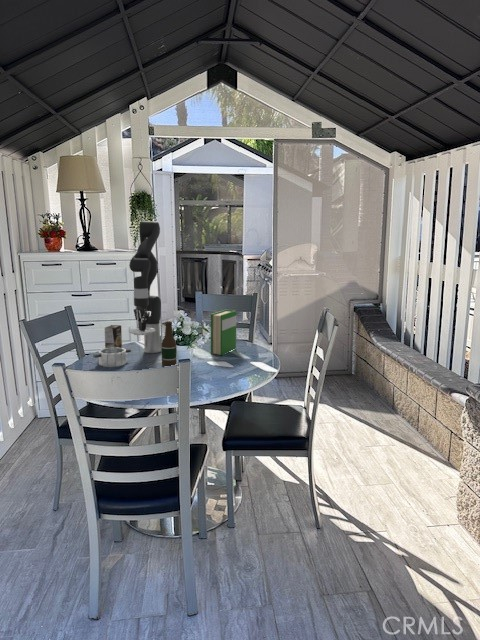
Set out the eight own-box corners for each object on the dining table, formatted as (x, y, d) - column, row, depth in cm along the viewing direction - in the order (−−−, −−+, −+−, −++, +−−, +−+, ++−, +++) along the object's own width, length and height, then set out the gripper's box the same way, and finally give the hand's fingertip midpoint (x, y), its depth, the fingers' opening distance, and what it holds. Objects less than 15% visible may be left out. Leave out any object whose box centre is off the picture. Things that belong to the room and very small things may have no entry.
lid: (147, 329, 254) (147, 317, 252) (159, 333, 243) (159, 321, 242) (124, 332, 245) (124, 320, 244) (136, 337, 235) (136, 324, 234)
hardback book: (221, 356, 264) (222, 315, 259) (210, 354, 267) (210, 314, 263) (235, 349, 279) (236, 310, 275) (225, 348, 283) (225, 309, 278)
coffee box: (115, 356, 261) (114, 328, 258) (105, 355, 262) (103, 327, 259) (122, 352, 270) (121, 325, 267) (112, 351, 271) (111, 324, 268)
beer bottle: (179, 365, 244) (179, 321, 240) (170, 369, 238) (169, 323, 233) (168, 363, 248) (167, 319, 243) (158, 367, 241) (157, 322, 237)
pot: (124, 357, 258) (124, 345, 257) (136, 363, 248) (135, 350, 247) (89, 363, 246) (88, 350, 244) (100, 369, 235) (99, 356, 234)
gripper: (154, 297, 238) (155, 330, 241) (141, 294, 248) (142, 325, 252) (141, 299, 233) (142, 332, 236) (128, 295, 243) (129, 327, 247)
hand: (142, 328), depth 244 cm, fingers closed on lid, 3 cm apart
